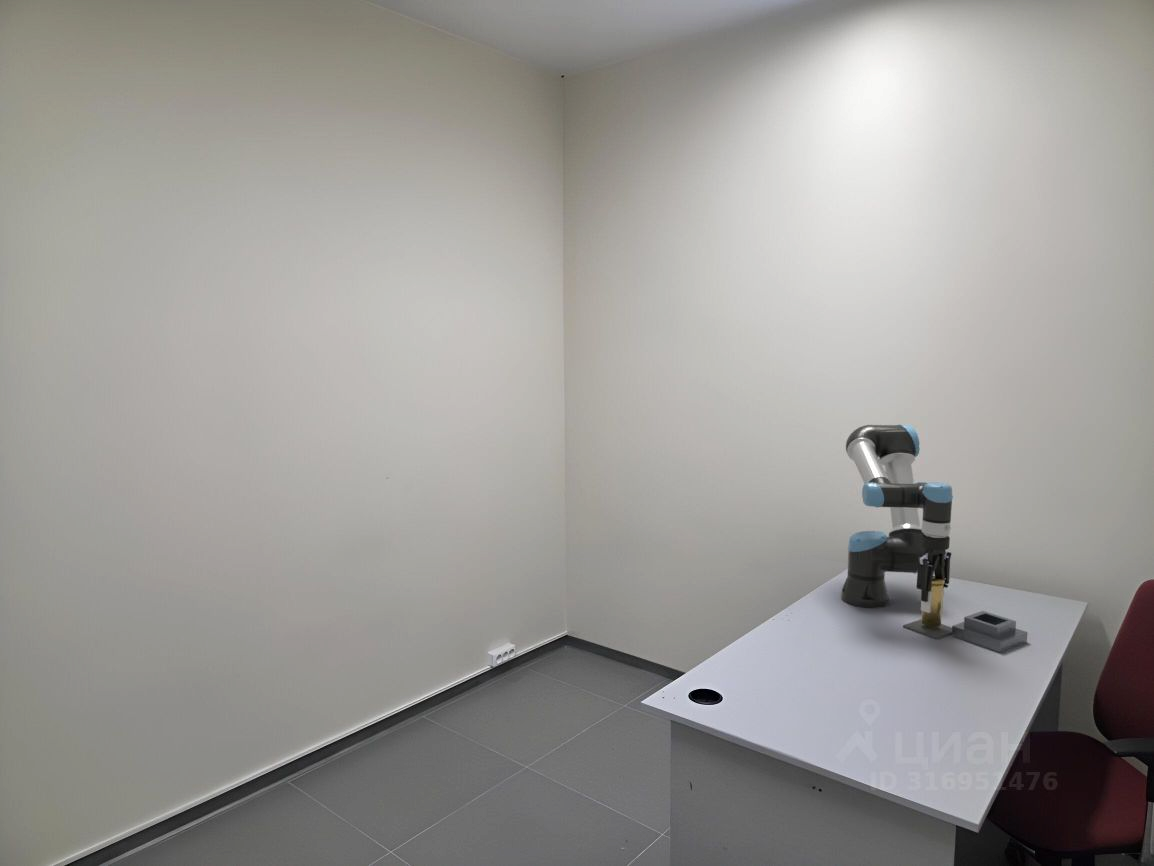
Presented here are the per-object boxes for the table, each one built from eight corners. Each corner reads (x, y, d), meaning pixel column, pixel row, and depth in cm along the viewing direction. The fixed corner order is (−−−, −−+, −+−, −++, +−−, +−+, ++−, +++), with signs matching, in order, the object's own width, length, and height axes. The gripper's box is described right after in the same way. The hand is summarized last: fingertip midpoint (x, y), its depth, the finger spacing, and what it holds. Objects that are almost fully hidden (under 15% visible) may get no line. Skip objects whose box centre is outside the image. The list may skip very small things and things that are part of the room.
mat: (902, 627, 212) (903, 625, 212) (924, 619, 218) (924, 618, 218) (936, 639, 203) (937, 637, 203) (958, 631, 208) (958, 629, 208)
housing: (951, 635, 206) (952, 616, 205) (978, 625, 213) (979, 607, 212) (1000, 652, 194) (1001, 632, 193) (1026, 642, 201) (1028, 622, 200)
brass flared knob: (915, 622, 211) (918, 577, 209) (927, 618, 214) (930, 574, 212) (934, 628, 206) (936, 583, 204) (946, 624, 209) (948, 579, 207)
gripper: (928, 541, 199) (924, 619, 202) (965, 533, 208) (961, 607, 211) (905, 536, 205) (901, 611, 208) (942, 527, 215) (938, 599, 217)
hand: (931, 609), depth 209 cm, fingers closed on brass flared knob, 5 cm apart
